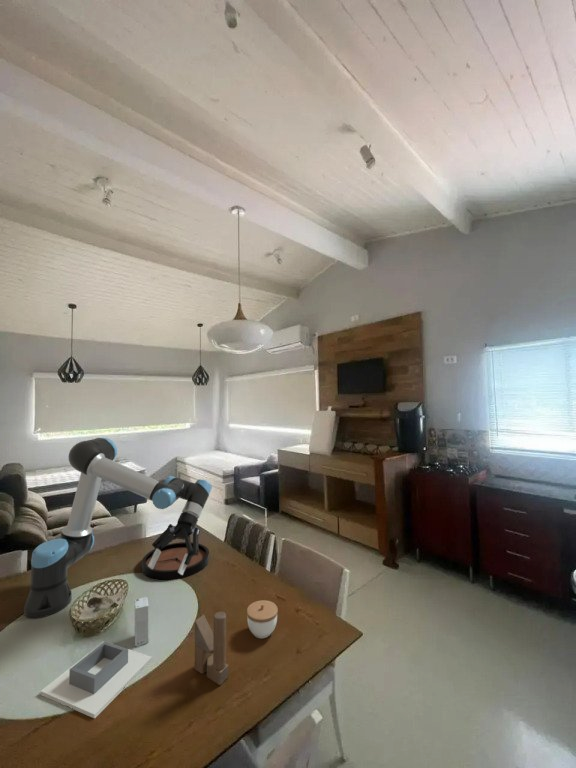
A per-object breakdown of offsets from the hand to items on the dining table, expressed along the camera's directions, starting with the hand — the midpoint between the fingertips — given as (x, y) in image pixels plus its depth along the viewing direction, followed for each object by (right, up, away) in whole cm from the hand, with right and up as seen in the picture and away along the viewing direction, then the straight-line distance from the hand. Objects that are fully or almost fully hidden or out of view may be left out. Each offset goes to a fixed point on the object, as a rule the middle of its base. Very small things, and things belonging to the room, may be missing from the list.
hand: (164, 570), depth 123 cm
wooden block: (+23, -17, -25) cm, 38 cm away
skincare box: (-4, -17, -11) cm, 21 cm away
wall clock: (-10, -20, +41) cm, 47 cm away
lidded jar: (+37, -17, -7) cm, 41 cm away
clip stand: (-9, -16, -26) cm, 32 cm away
